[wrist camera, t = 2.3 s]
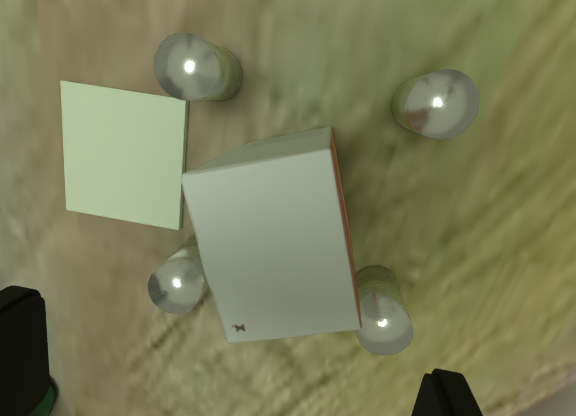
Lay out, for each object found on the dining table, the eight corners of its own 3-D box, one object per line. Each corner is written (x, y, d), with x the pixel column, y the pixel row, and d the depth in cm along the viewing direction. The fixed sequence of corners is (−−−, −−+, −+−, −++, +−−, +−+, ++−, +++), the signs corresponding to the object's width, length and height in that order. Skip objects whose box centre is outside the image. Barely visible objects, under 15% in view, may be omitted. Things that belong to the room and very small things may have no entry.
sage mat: (189, 99, 26) (185, 99, 26) (181, 227, 29) (178, 230, 29) (66, 80, 27) (60, 80, 27) (71, 207, 30) (66, 209, 30)
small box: (351, 229, 28) (364, 335, 15) (271, 241, 29) (223, 348, 17) (333, 123, 26) (332, 145, 13) (247, 140, 27) (173, 175, 14)
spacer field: (451, 80, 24) (488, 74, 18) (391, 309, 29) (405, 360, 24) (195, 44, 25) (155, 28, 20) (182, 269, 31) (147, 308, 25)
